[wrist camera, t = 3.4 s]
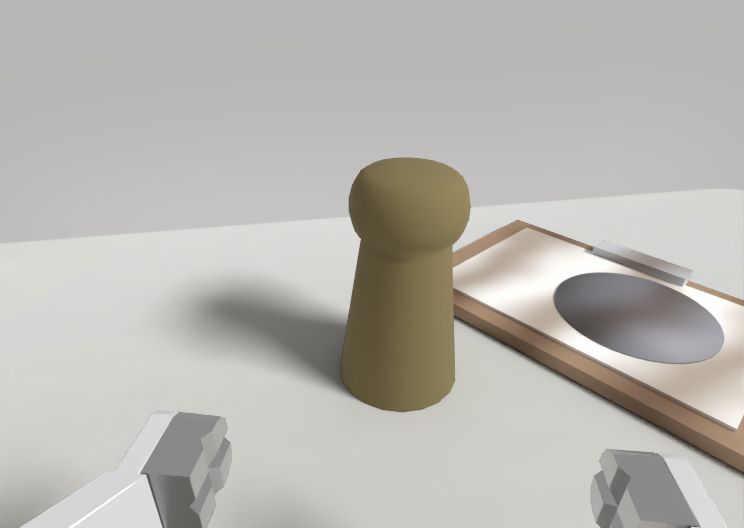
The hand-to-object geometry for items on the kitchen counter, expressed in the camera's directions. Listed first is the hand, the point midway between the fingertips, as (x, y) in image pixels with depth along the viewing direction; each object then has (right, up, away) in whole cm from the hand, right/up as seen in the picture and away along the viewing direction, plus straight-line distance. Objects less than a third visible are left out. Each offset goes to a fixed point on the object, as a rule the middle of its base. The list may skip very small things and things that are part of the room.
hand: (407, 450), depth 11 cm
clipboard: (+13, +1, +20) cm, 24 cm away
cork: (+1, -2, +15) cm, 15 cm away
